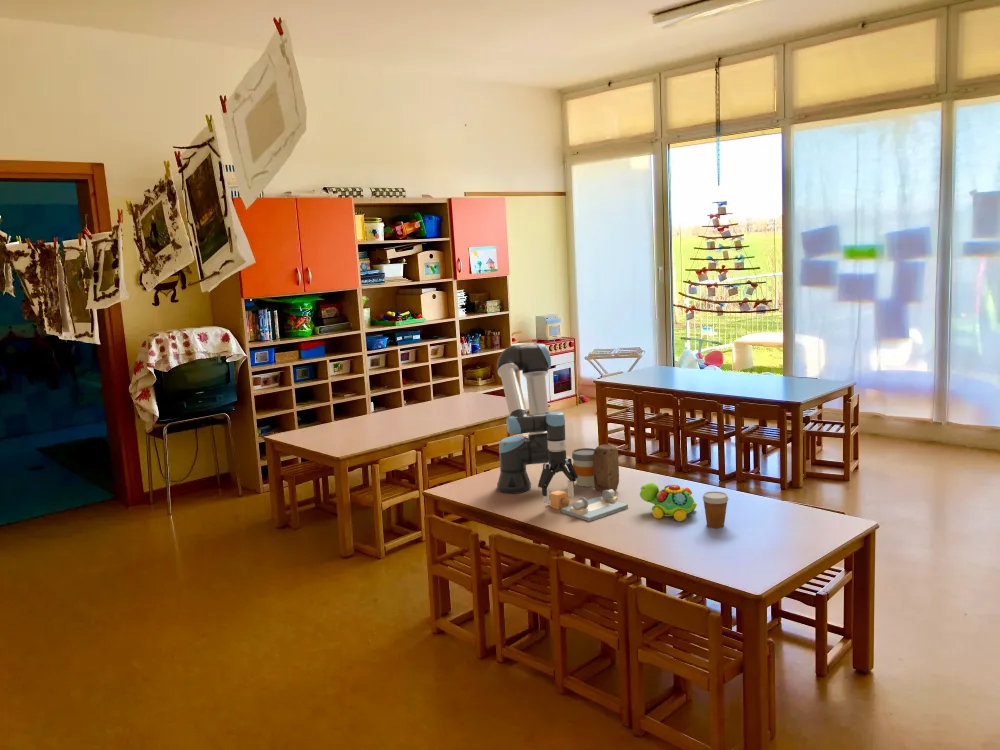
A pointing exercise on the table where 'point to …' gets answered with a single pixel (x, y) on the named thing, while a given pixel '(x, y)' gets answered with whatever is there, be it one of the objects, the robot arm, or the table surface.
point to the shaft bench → (595, 506)
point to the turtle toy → (669, 500)
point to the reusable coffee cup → (584, 466)
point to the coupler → (558, 499)
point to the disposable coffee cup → (715, 508)
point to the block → (606, 467)
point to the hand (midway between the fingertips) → (558, 499)
